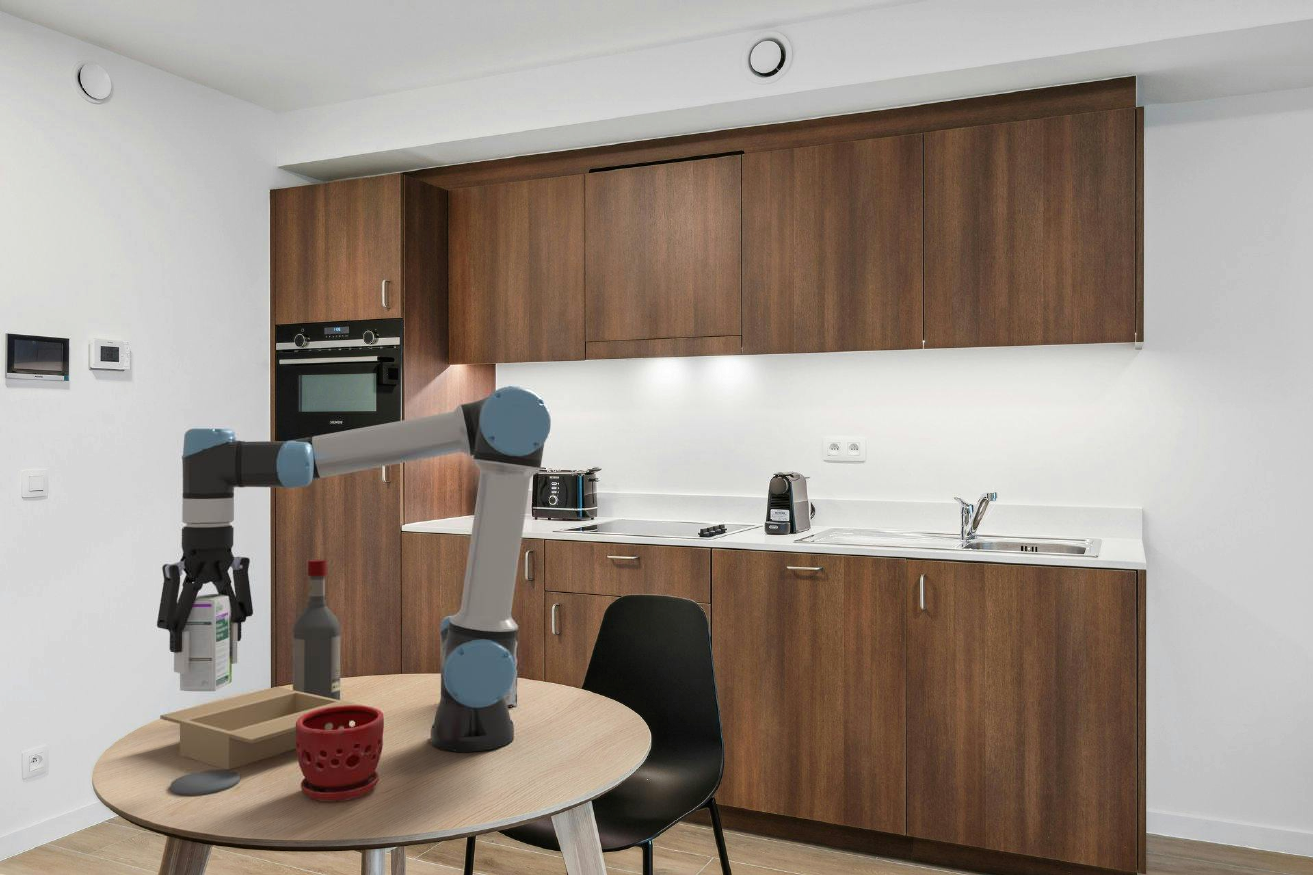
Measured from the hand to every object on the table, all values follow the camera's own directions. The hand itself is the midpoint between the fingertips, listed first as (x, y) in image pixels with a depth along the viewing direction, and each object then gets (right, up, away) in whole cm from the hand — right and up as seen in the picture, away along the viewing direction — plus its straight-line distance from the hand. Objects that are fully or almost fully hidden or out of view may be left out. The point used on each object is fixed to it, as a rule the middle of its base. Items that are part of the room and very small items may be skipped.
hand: (206, 667), depth 151 cm
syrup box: (0, -3, 0) cm, 3 cm away
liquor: (0, -19, +48) cm, 52 cm away
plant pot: (+23, -19, -4) cm, 30 cm away
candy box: (+37, -20, +50) cm, 65 cm away
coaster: (0, -19, 0) cm, 19 cm away
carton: (+1, -19, +20) cm, 28 cm away
